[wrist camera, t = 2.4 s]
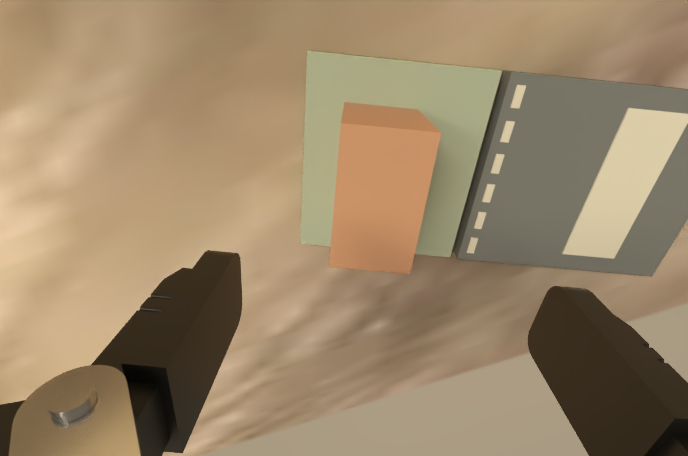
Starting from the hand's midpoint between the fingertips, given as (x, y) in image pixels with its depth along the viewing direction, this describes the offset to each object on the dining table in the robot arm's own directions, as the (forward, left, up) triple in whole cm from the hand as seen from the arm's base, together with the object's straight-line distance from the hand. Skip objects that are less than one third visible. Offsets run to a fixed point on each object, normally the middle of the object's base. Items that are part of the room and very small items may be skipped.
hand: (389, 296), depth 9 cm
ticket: (0, +11, -11) cm, 16 cm away
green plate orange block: (0, +1, -11) cm, 11 cm away
